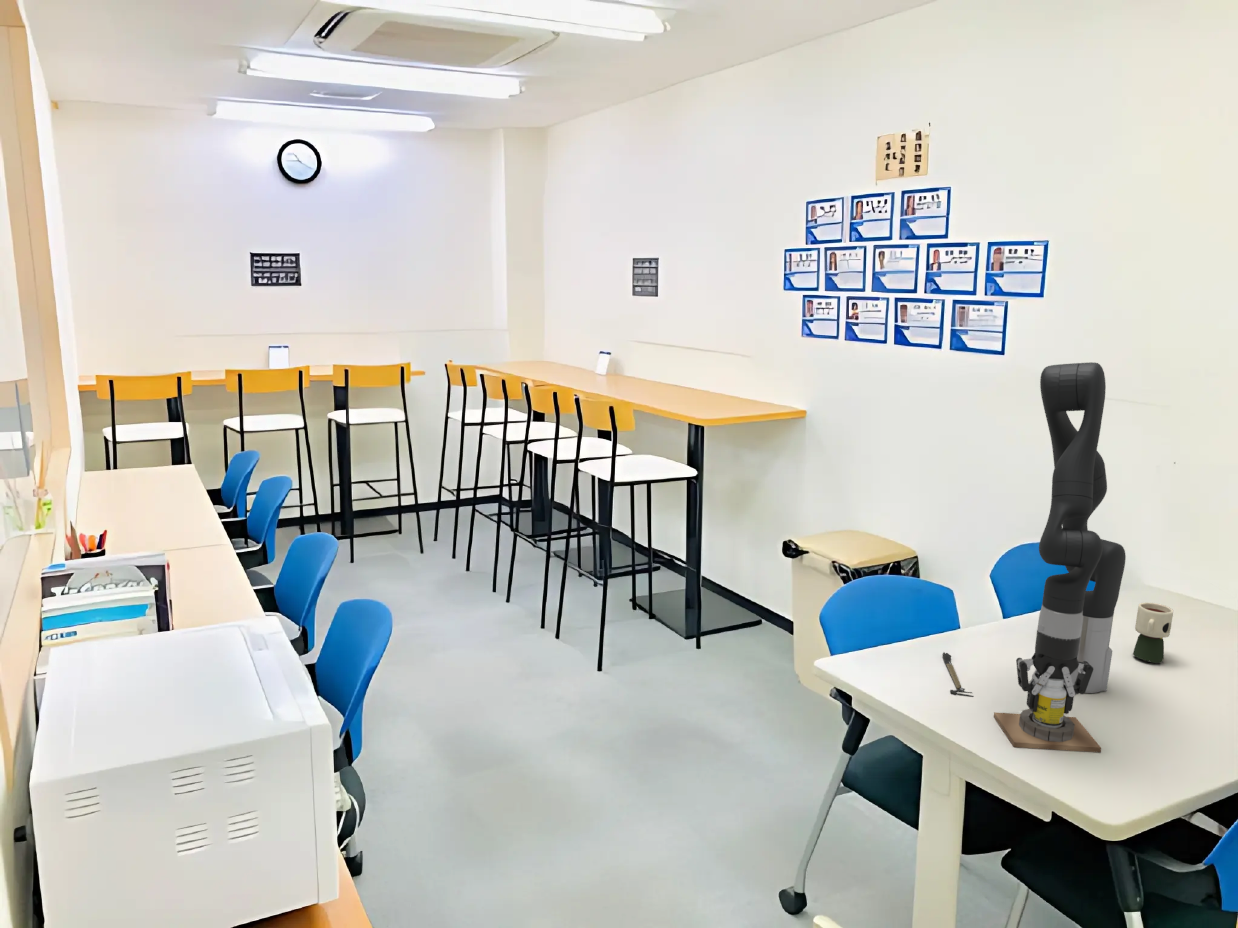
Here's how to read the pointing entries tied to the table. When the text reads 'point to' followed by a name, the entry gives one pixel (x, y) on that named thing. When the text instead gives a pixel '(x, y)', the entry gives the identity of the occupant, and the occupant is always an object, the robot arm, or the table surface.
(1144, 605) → the character mug
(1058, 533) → the robot arm
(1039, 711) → the supplement bottle
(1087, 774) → the table surface
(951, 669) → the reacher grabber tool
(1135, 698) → the table surface
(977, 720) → the table surface
